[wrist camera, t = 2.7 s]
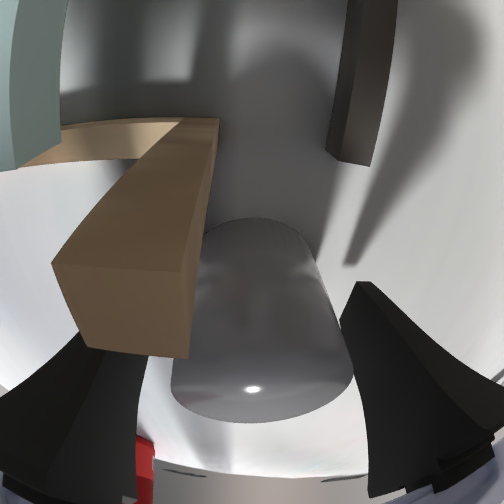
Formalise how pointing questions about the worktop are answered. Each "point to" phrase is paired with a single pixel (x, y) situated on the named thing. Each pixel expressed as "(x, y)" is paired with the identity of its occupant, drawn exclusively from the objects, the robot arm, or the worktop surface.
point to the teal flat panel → (29, 78)
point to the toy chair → (186, 200)
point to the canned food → (144, 470)
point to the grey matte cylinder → (260, 329)
